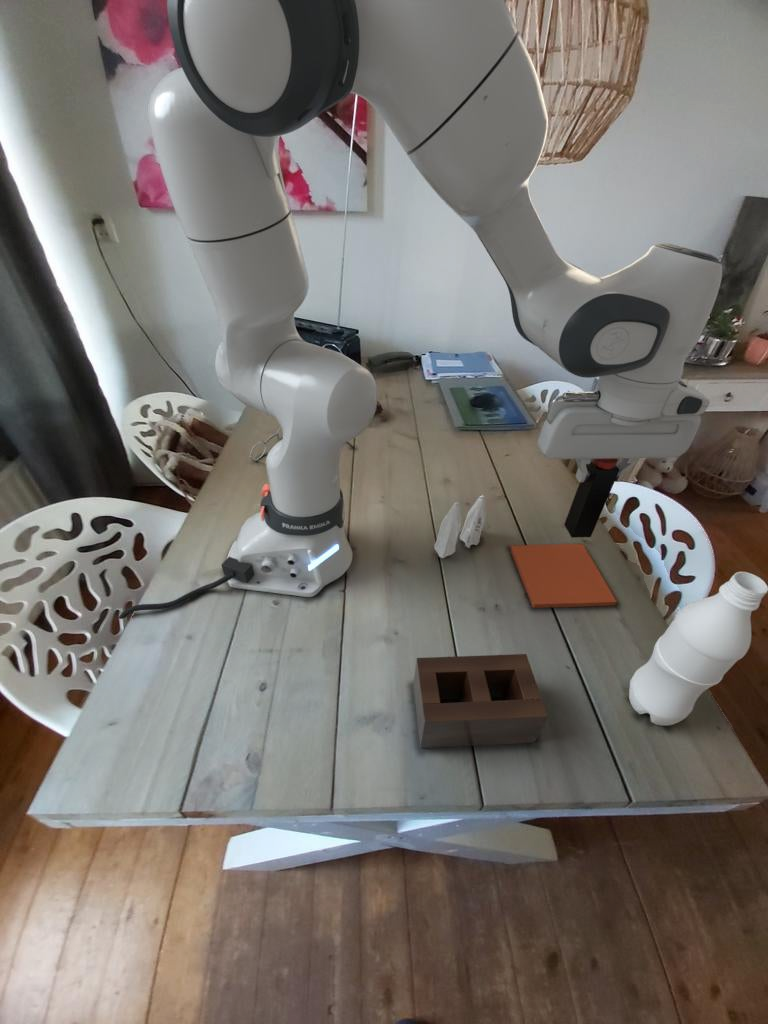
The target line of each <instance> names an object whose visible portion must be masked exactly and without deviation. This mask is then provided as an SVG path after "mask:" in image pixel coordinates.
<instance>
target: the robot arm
mask: <svg viewBox="0 0 768 1024" xmlns="http://www.w3.org/2000/svg"><path fill="white" fill-rule="evenodd" d="M166 8H167V9H166V10H167V18H168V27H169V31H170V36H171V40H172V44H173V47H174V50H175V51H174V52H175V53H176V56H177V59H178V62H179V64H180V66H181V67H178V68H176V69H174V70H172V71H170V72H169V73H167V74H166V75H165V76H163V77H162V78H161V80H159V82H158V83H157V84H156V85H155V87H154V88H153V90H152V91H151V94H150V96H149V99H148V103H147V104H148V105H147V120H148V126H149V129H150V134H151V138H152V141H153V142H152V143H153V146H154V149H155V153H156V157H157V160H158V162H159V167H160V170H161V173H162V177H163V180H164V182H165V185H166V189H167V191H168V194H169V197H170V201H171V204H172V206H173V209H174V212H175V214H176V217H177V219H178V221H179V224H180V226H181V228H182V231H183V233H184V236H185V239H186V240H187V243H188V245H189V248H190V250H191V252H192V254H193V257H194V259H195V262H196V264H197V266H198V269H199V271H200V273H201V276H202V279H203V281H204V284H205V285H206V288H207V290H208V293H209V296H210V298H211V300H212V303H213V306H214V309H215V312H216V315H217V319H218V323H219V329H220V336H221V342H220V344H219V345H218V347H217V350H216V353H215V360H214V368H215V374H216V376H217V378H218V381H219V382H220V384H221V385H222V386H223V388H224V389H226V391H228V392H229V393H230V394H231V395H232V396H233V397H234V398H236V399H237V400H238V401H240V402H241V404H243V405H245V406H247V407H249V408H251V409H253V410H255V411H258V412H260V413H262V414H264V415H266V416H269V417H271V418H273V419H275V420H276V421H277V423H278V424H279V426H280V427H281V430H282V438H281V439H282V440H279V441H277V442H276V443H275V444H274V445H273V447H271V449H270V450H269V451H268V453H267V455H266V458H265V462H266V463H265V468H266V469H265V470H266V473H267V474H266V475H267V478H268V479H267V480H268V483H265V484H263V486H262V489H261V490H262V491H261V492H260V494H261V495H260V496H261V497H262V498H261V500H260V510H259V511H258V512H256V513H254V514H253V515H251V516H250V517H248V518H247V519H246V520H245V521H244V523H243V524H242V525H241V528H240V530H239V532H238V535H237V537H236V539H235V540H234V541H233V543H232V544H231V547H230V548H229V551H228V554H227V557H226V559H225V560H224V561H223V562H222V563H221V569H222V572H223V575H224V576H223V577H221V578H219V579H218V580H216V581H213V582H211V583H208V584H205V585H203V586H201V587H198V588H196V589H194V590H191V591H190V592H188V593H185V594H184V595H182V596H180V597H178V598H176V599H174V600H171V601H168V602H167V601H166V602H162V603H143V604H135V605H132V606H130V607H127V608H126V609H124V610H123V611H122V612H121V613H120V614H119V616H118V619H119V620H122V619H125V618H126V617H127V616H129V615H130V614H132V613H134V612H140V611H153V610H156V611H157V610H166V609H169V608H173V607H176V606H178V605H181V604H183V603H184V602H186V601H188V600H190V599H192V598H194V597H197V596H198V595H200V594H202V593H204V592H206V591H209V590H212V589H215V588H217V587H219V586H221V585H223V584H225V583H228V584H227V585H229V587H230V588H233V589H240V590H247V591H248V590H249V591H256V592H263V593H272V594H281V595H287V596H288V595H289V596H296V597H302V598H303V597H304V598H313V597H315V596H316V595H317V594H318V593H320V592H321V590H322V589H323V588H324V587H326V586H327V585H328V584H330V583H333V582H335V581H336V580H338V579H339V578H340V577H342V576H343V575H344V574H345V573H346V572H347V571H348V569H349V568H350V566H351V565H352V562H353V550H352V547H351V545H350V542H349V540H348V537H347V534H346V530H345V525H344V523H345V520H346V519H345V515H346V514H345V499H344V494H343V490H342V489H341V479H340V476H341V475H340V473H341V471H340V467H341V466H340V465H341V464H340V463H341V462H340V460H341V454H342V451H343V448H344V446H345V444H347V443H346V442H348V443H349V441H352V440H354V439H355V438H357V437H359V436H360V435H361V434H362V433H364V432H365V430H366V429H367V428H368V427H369V426H370V424H371V423H372V420H373V419H374V416H375V414H376V413H375V411H376V407H377V400H378V398H379V397H378V387H377V383H376V380H375V378H374V375H373V374H372V373H371V372H370V370H368V369H367V368H366V367H364V366H363V365H361V364H359V363H358V362H356V361H355V360H353V359H351V358H350V357H348V355H347V356H346V355H345V354H343V353H342V352H339V351H337V350H333V349H330V348H326V347H324V346H320V345H318V344H314V343H310V342H307V341H306V340H304V339H303V338H302V337H301V336H300V334H299V332H298V330H297V327H296V321H295V312H297V310H298V309H299V308H300V307H301V306H302V304H303V302H304V301H305V299H306V298H307V295H308V292H309V289H310V279H309V275H308V270H307V266H306V262H305V258H304V255H303V251H302V247H301V242H300V239H299V236H298V230H297V226H296V224H295V219H294V216H293V212H292V211H293V210H292V207H291V203H290V200H289V196H288V192H287V188H286V185H285V182H284V177H283V172H282V167H281V163H280V152H279V151H280V150H279V149H280V148H279V147H280V138H281V136H283V135H287V134H290V133H292V132H295V131H297V130H299V129H301V128H302V127H304V126H306V125H307V124H309V123H310V122H312V120H314V119H315V118H316V117H318V116H319V115H321V114H322V113H325V111H327V110H329V109H331V108H332V107H334V106H335V105H337V104H339V103H340V102H342V101H343V100H345V99H346V98H347V97H348V96H349V95H350V94H352V95H356V96H359V97H360V98H362V99H364V101H366V102H367V103H369V104H370V106H372V108H373V109H375V111H376V112H377V113H378V115H380V117H381V118H382V120H383V121H384V122H385V124H386V125H387V127H388V128H389V129H390V131H391V132H392V134H393V135H394V137H395V139H396V141H397V142H398V143H399V145H400V146H401V148H402V149H403V151H404V152H405V153H406V155H407V157H408V158H409V160H410V162H411V163H412V164H413V165H414V167H415V168H416V170H417V171H418V172H419V174H420V175H421V176H422V178H423V179H424V180H425V181H426V183H427V184H428V186H430V188H431V189H432V190H433V191H434V192H435V193H436V195H437V196H438V197H439V198H440V199H441V200H442V201H443V202H444V204H445V205H447V207H449V208H450V209H451V210H452V211H453V212H454V213H455V215H457V216H458V217H459V219H461V220H462V221H464V222H465V223H466V224H467V225H468V226H469V228H471V230H473V232H474V233H475V234H476V235H477V237H478V239H479V240H480V242H481V244H482V245H483V247H484V249H485V250H486V252H487V253H488V256H489V257H490V259H491V260H492V262H493V264H494V266H495V267H496V269H497V270H498V272H499V274H500V276H501V277H502V278H503V280H504V282H505V284H506V287H507V289H508V293H509V299H510V303H511V304H510V305H511V313H512V315H511V316H512V319H513V323H514V327H515V328H516V331H517V332H518V334H519V335H520V336H521V337H522V338H523V339H524V340H525V341H527V342H529V343H530V344H532V345H533V346H535V347H537V348H538V349H539V350H540V351H542V353H544V354H545V355H546V356H548V357H549V358H550V359H551V360H552V361H554V362H555V363H556V364H558V365H559V367H561V368H563V370H565V371H566V372H568V373H570V374H572V375H573V376H576V377H580V378H587V379H588V378H589V379H590V378H598V379H597V382H596V385H595V388H594V390H593V391H581V392H575V391H565V392H563V393H562V394H561V395H558V396H557V397H555V398H554V399H552V400H551V401H550V403H549V404H548V405H549V406H548V409H547V413H546V418H545V420H544V423H543V425H542V428H541V430H540V432H539V435H538V437H537V447H538V448H539V451H540V452H541V454H542V455H543V456H544V457H545V458H546V459H547V460H575V462H576V465H577V470H576V473H575V474H576V475H575V478H576V480H577V481H578V483H580V482H590V480H591V479H590V478H591V477H592V475H593V473H592V471H591V470H590V469H589V467H586V464H590V462H591V460H592V459H617V460H618V461H617V463H616V466H617V467H618V468H619V473H618V475H617V477H616V480H615V482H614V483H620V482H621V481H622V479H623V477H624V474H625V473H628V471H630V470H631V469H632V468H633V467H634V466H636V464H638V461H639V459H676V458H680V457H681V456H682V455H683V454H685V453H686V452H687V451H688V450H689V448H690V447H691V445H692V443H693V441H694V439H695V437H696V434H697V433H698V430H699V428H700V426H701V422H702V419H701V415H702V414H704V413H705V412H706V411H707V409H708V408H709V405H710V404H711V401H710V399H709V398H708V397H707V396H705V394H703V393H702V392H701V391H700V390H698V389H697V388H695V387H694V386H692V385H690V383H688V382H686V381H684V380H682V377H683V374H684V366H685V362H686V360H687V357H688V356H689V354H690V352H691V351H692V349H693V348H694V347H695V345H697V343H698V342H699V340H700V338H701V336H702V333H703V332H704V329H705V327H706V325H707V322H708V320H709V319H710V315H711V313H712V310H713V308H714V305H715V302H716V300H717V297H718V294H719V290H720V287H721V283H722V279H723V264H722V262H721V261H720V260H719V258H717V257H716V256H715V255H713V254H711V253H707V252H703V251H699V250H694V249H691V248H688V247H684V246H680V245H676V244H672V243H659V244H654V245H652V246H650V248H649V249H648V251H647V252H646V253H645V254H643V256H641V257H639V258H638V259H637V260H635V261H634V262H632V263H631V264H629V265H627V266H626V267H624V268H622V269H620V270H617V271H616V272H615V271H614V272H613V273H610V274H608V275H605V276H601V277H598V276H596V275H593V274H591V273H589V272H587V271H584V269H582V268H580V267H578V266H577V265H575V264H573V263H572V262H569V261H568V260H565V259H564V258H562V257H561V256H560V255H559V254H558V252H557V251H556V250H555V248H554V246H553V243H552V241H551V240H550V237H549V235H548V233H547V231H546V229H545V227H544V224H543V222H542V220H541V218H540V216H539V214H538V212H537V210H536V207H535V206H534V203H533V202H532V201H533V200H532V199H531V195H530V190H529V180H530V177H531V176H532V175H533V173H534V171H535V169H536V167H537V165H538V163H539V161H540V158H541V156H542V153H543V150H544V147H545V143H546V140H547V139H546V138H547V133H548V127H549V116H548V112H547V108H546V107H547V106H546V104H545V103H546V102H545V98H544V95H543V91H542V87H541V83H540V80H539V77H538V74H537V73H538V72H537V71H536V68H535V66H534V62H533V60H532V58H531V57H532V56H531V55H530V53H529V51H528V48H527V46H526V44H525V42H524V39H523V37H522V35H521V33H520V30H518V27H517V24H516V22H515V20H514V18H513V16H512V15H511V11H510V10H509V7H508V6H507V4H506V2H505V0H166ZM619 459H620V460H619Z"/></svg>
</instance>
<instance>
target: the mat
mask: <svg viewBox="0 0 768 1024" xmlns="http://www.w3.org/2000/svg"><path fill="white" fill-rule="evenodd" d="M509 550H510V553H511V556H512V558H513V561H514V563H515V566H516V569H517V571H518V573H519V576H520V578H521V581H522V584H523V585H524V588H525V591H526V594H527V596H528V599H529V601H530V603H531V604H530V605H531V606H532V608H533V609H543V608H544V609H546V608H550V609H551V608H579V607H580V608H581V607H582V608H583V607H608V606H609V607H611V606H616V604H617V603H618V601H617V599H616V597H615V596H614V594H613V593H612V591H611V589H610V586H608V584H607V583H606V582H607V581H606V580H605V579H604V577H603V575H602V574H601V572H600V570H599V569H598V567H597V565H596V564H595V562H594V560H593V559H592V557H591V555H590V553H589V552H588V550H587V548H586V547H585V545H584V544H583V543H568V544H567V543H566V544H565V543H564V544H563V543H561V544H519V545H518V544H516V545H510V548H509Z"/></svg>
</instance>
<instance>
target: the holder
mask: <svg viewBox="0 0 768 1024" xmlns="http://www.w3.org/2000/svg"><path fill="white" fill-rule="evenodd" d="M412 687H413V693H414V695H413V696H414V705H415V715H416V722H417V731H418V739H419V748H420V749H432V748H433V749H434V748H436V749H437V748H454V747H475V746H476V747H477V746H494V745H495V746H496V745H497V746H498V745H515V744H516V745H517V744H518V745H519V744H535V742H536V740H537V738H538V736H539V734H540V733H541V730H542V729H543V726H544V725H545V723H546V721H547V719H548V717H549V716H548V713H547V710H546V707H545V704H544V700H543V698H542V696H541V693H540V690H539V686H538V683H537V681H536V678H535V675H534V672H533V670H532V666H531V663H530V661H529V658H528V655H527V654H526V653H513V654H488V655H486V654H485V655H460V656H433V657H432V656H431V657H429V656H428V657H417V658H416V660H415V668H414V676H413V686H412ZM492 698H504V700H492ZM441 700H459V702H441Z"/></svg>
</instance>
